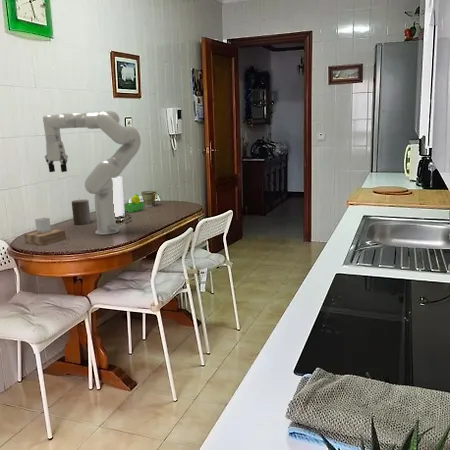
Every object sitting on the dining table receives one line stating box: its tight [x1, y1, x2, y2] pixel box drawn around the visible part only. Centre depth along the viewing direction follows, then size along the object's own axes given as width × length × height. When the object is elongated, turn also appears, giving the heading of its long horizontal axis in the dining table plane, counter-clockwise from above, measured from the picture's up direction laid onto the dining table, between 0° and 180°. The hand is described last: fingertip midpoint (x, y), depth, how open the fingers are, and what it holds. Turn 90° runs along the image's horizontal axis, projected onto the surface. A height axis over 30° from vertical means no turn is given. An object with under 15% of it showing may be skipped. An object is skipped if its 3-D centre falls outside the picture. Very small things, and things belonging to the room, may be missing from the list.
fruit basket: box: [124, 193, 144, 213], centre depth 321 cm, size 11×9×11 cm
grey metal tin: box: [35, 217, 52, 234], centre depth 251 cm, size 5×5×7 cm
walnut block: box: [24, 228, 67, 246], centre depth 253 cm, size 14×14×5 cm
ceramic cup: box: [140, 190, 158, 208], centre depth 335 cm, size 13×10×10 cm
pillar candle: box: [71, 198, 92, 226], centre depth 291 cm, size 10×10×15 cm
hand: (58, 171), depth 263 cm, fingers open, 9 cm apart
